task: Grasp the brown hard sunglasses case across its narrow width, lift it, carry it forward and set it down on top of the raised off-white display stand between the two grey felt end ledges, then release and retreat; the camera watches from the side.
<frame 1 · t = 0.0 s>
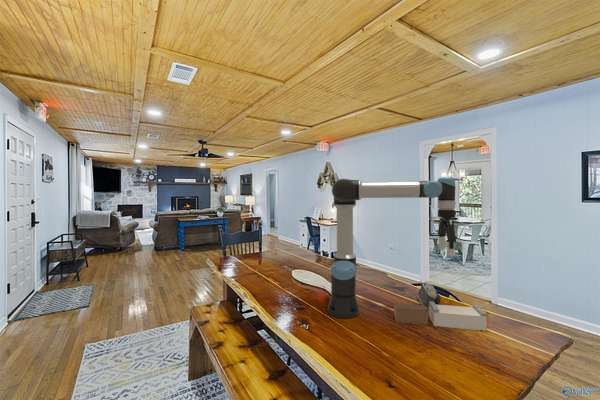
hand: (446, 252, 132), 28 cm above the table, fingers open, 13 cm apart
case: (410, 320, 121), on the table
stand: (456, 323, 117), on the table
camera: (430, 304, 138), on the table
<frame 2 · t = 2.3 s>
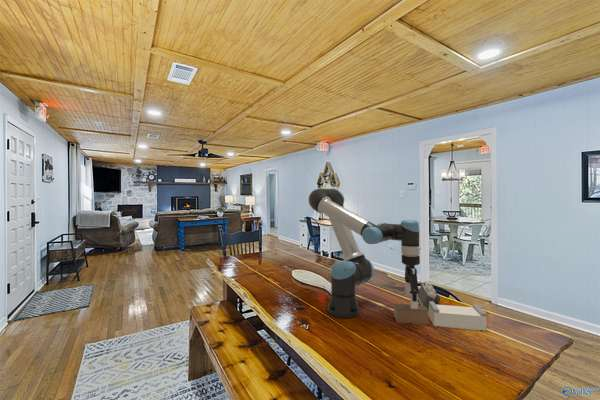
hand: (411, 302, 120), 8 cm above the table, fingers open, 13 cm apart
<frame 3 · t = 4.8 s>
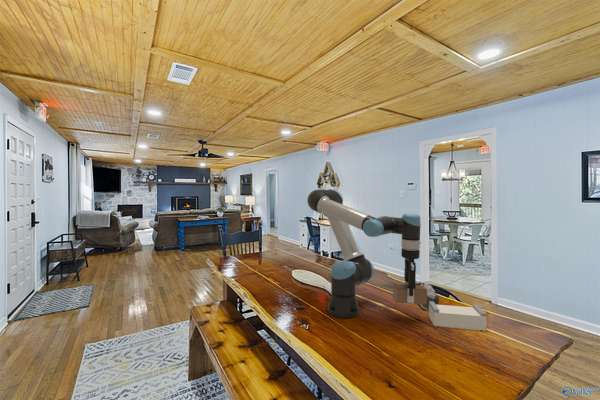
hand: (409, 299, 121), 9 cm above the table, fingers closed on case, 6 cm apart
case: (409, 300, 121), point 9 cm above the table, touching gripper
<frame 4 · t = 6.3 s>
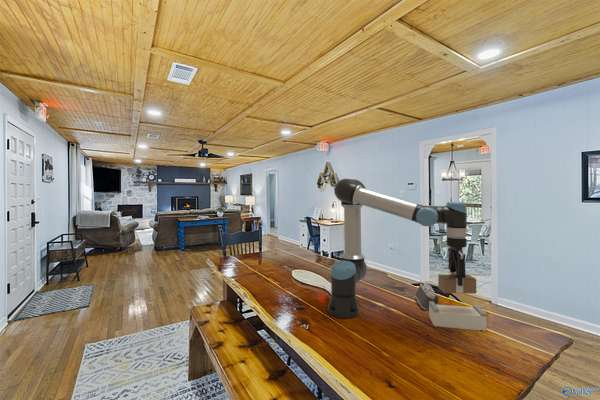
hand: (456, 289, 117), 15 cm above the table, fingers closed on case, 6 cm apart
case: (456, 290, 117), point 14 cm above the table, touching gripper
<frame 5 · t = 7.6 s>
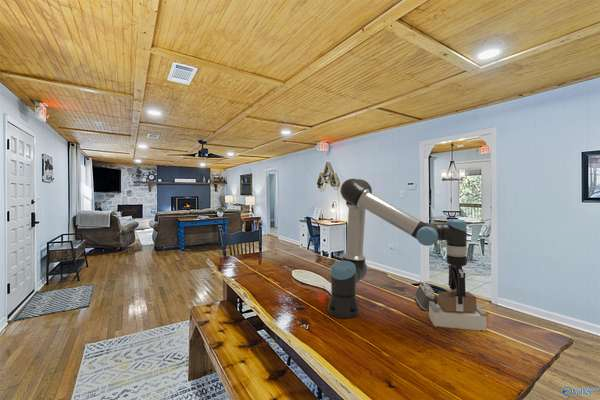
hand: (456, 307, 117), 7 cm above the table, fingers closed on case, 6 cm apart
case: (456, 308, 117), point 7 cm above the table, touching gripper
when the fingers open (6 cm above the table, at t = 8.1 s): case stays where it is, resting on stand.
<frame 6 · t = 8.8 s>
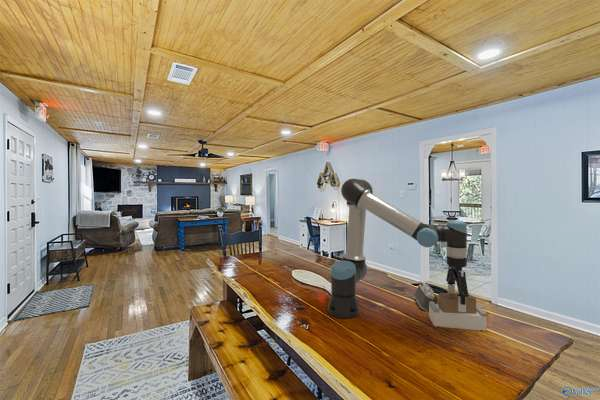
hand: (456, 304, 117), 8 cm above the table, fingers open, 13 cm apart
case: (456, 310, 117), point 6 cm above the table, touching stand
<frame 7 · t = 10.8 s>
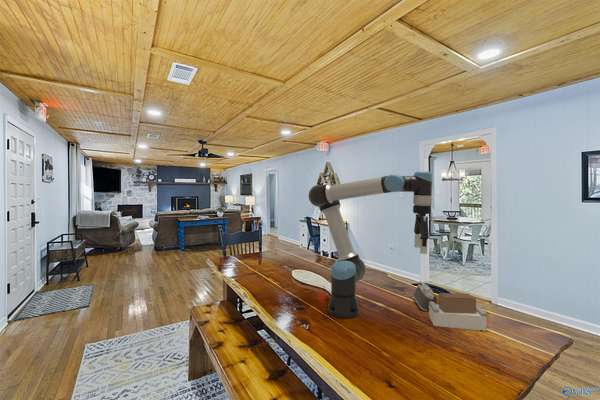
hand: (420, 250, 125), 30 cm above the table, fingers open, 13 cm apart
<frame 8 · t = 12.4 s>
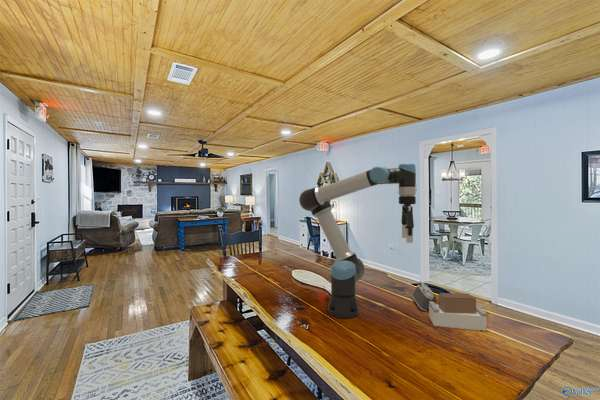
hand: (407, 240, 129), 35 cm above the table, fingers open, 13 cm apart
at the end: case inside the target area on the stand (0.1 cm from its centre), point 6.0 cm above the stand's base; case tilted 0°; the gripper is holding nothing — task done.
